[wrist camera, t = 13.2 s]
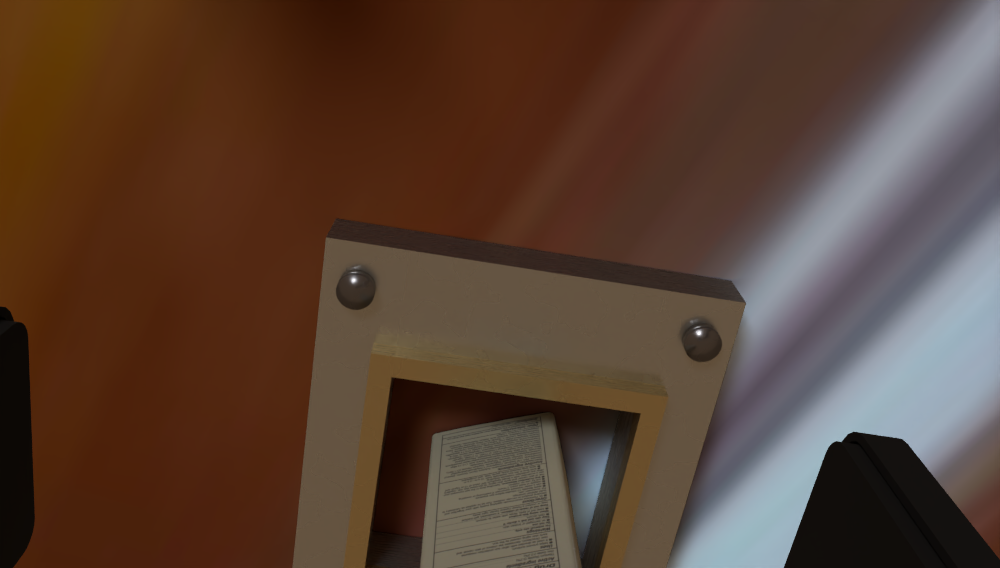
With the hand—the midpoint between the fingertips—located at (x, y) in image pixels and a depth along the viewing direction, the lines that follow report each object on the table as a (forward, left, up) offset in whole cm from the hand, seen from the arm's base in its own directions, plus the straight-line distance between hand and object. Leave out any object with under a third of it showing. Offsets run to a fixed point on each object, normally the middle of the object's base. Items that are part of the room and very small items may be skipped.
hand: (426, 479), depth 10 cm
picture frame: (-4, +18, -28) cm, 34 cm away
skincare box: (-4, +18, -28) cm, 34 cm away
